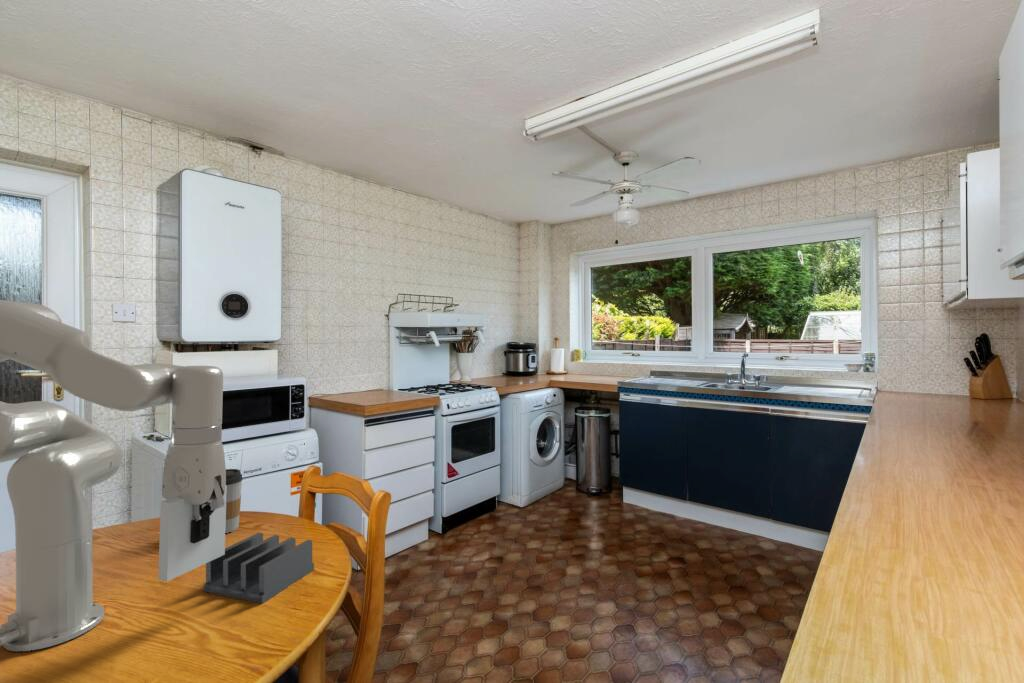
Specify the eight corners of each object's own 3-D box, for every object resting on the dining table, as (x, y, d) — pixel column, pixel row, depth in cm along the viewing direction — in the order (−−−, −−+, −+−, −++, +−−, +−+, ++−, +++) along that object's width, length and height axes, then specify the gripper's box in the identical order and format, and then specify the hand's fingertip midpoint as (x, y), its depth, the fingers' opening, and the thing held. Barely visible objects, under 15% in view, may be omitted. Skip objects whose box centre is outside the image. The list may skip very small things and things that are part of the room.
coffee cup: (250, 526, 129) (250, 469, 129) (223, 538, 121) (223, 478, 121) (225, 523, 131) (224, 467, 131) (197, 535, 123) (197, 475, 123)
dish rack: (262, 603, 91) (262, 568, 91) (203, 591, 95) (203, 558, 95) (314, 569, 104) (313, 539, 104) (260, 560, 108) (260, 531, 108)
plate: (167, 581, 80) (169, 503, 81) (158, 579, 81) (160, 501, 81) (224, 554, 91) (226, 485, 91) (216, 552, 92) (218, 484, 92)
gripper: (143, 435, 85) (139, 540, 85) (212, 443, 80) (209, 555, 80) (183, 428, 92) (180, 525, 92) (249, 435, 87) (246, 537, 87)
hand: (194, 538), depth 86 cm, fingers closed on plate, 2 cm apart
